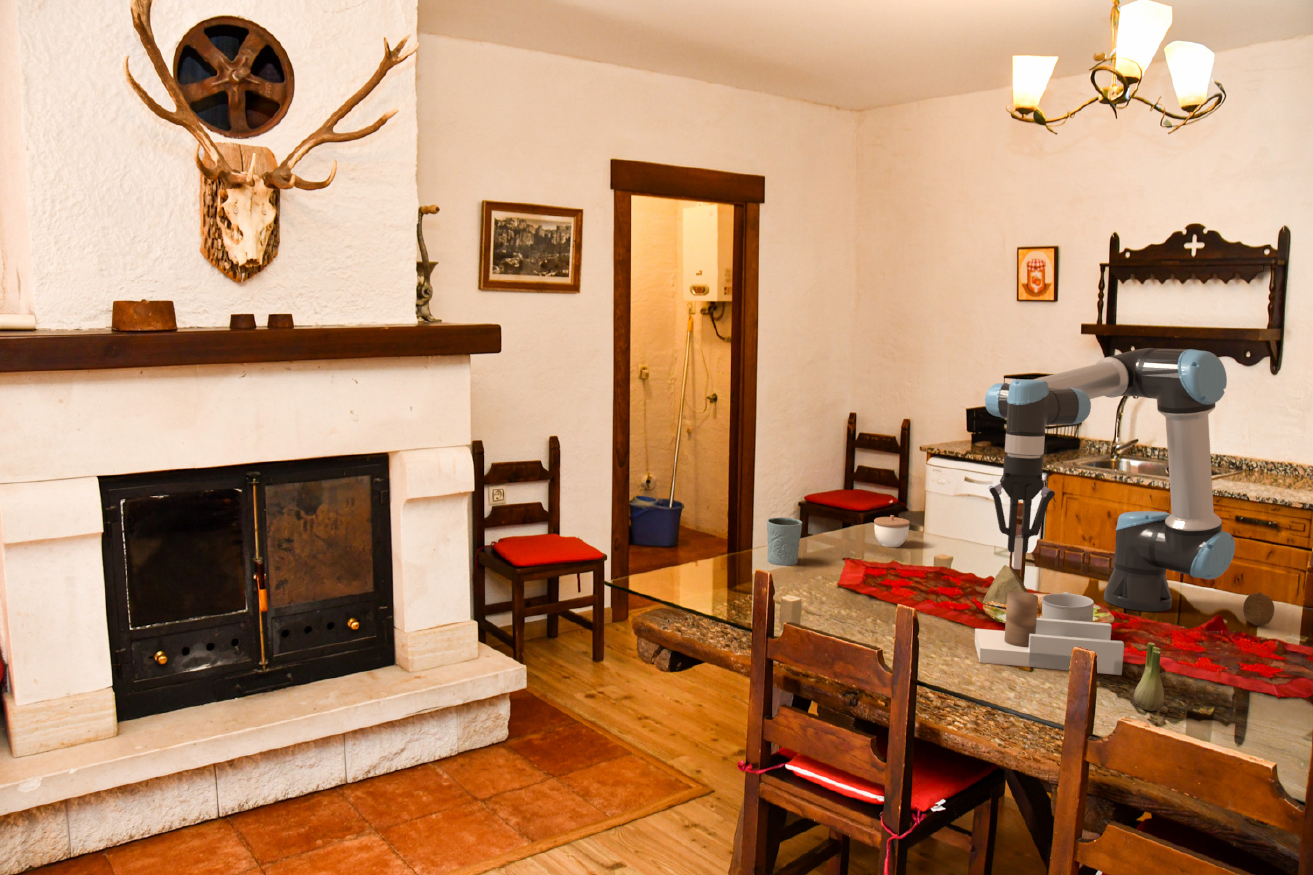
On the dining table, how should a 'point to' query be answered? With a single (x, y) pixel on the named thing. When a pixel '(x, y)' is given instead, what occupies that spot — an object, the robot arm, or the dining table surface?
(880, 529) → the lidded jar
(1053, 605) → the teacup
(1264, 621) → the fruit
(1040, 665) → the channel
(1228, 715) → the dining table surface
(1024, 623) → the brown cylinder
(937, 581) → the dining table surface
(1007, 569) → the rock
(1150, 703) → the fennel bulb
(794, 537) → the embossed blue-grey cup
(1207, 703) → the dining table surface
